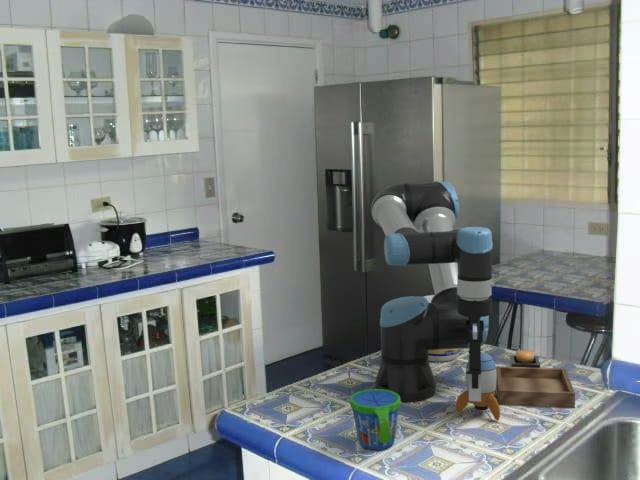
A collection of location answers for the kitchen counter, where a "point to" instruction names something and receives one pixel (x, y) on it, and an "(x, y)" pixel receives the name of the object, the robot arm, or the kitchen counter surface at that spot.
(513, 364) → the button housing
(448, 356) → the supplement tub
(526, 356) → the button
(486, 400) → the toy rocket
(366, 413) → the snack cup
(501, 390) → the open wooden tray
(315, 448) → the kitchen counter surface
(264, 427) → the kitchen counter surface
